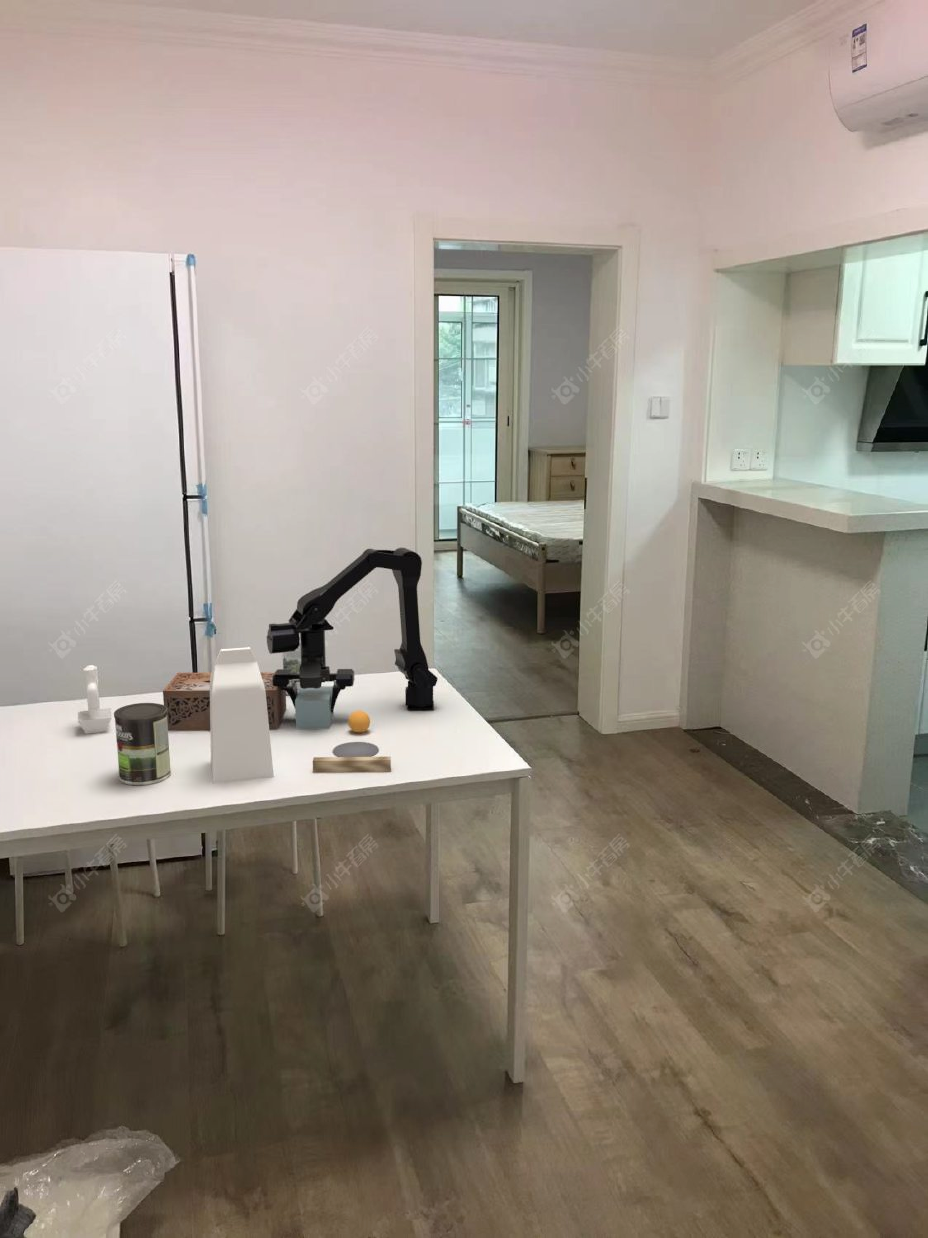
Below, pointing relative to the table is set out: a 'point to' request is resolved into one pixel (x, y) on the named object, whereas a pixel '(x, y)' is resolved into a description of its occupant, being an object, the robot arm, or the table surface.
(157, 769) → the coffee can
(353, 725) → the ball
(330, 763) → the tan wooden bar
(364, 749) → the gray round object
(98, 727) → the figurine
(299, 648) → the syrup box
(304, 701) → the light blue rectangular box
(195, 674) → the tissue box cover
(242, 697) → the milk
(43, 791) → the table surface
